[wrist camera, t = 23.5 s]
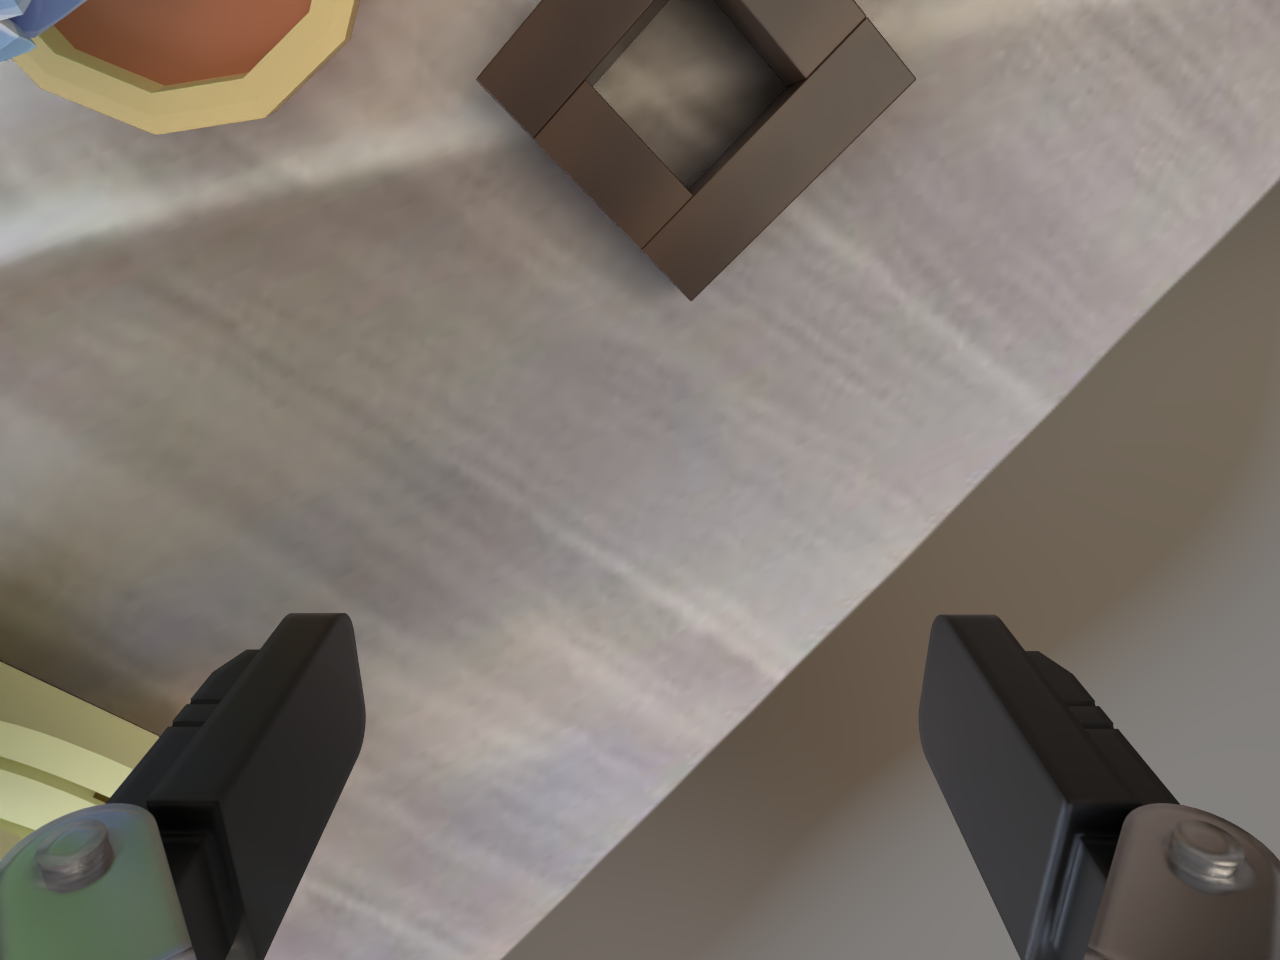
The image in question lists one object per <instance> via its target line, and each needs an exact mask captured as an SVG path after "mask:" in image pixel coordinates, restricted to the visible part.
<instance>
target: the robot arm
mask: <svg viewBox="0 0 1280 960" xmlns="http://www.w3.org/2000/svg"><path fill="white" fill-rule="evenodd" d="M365 718H366V714H365V703H364V696H363V689H362V683H361V676H360V669H359V662H358V656H357V649H356V642H355V636H354V629H353V625H352V622H351V619H350V617H349V616H348V615H347V614H345V613H291V614H288V615H287V616H286V617H285V618H284V619H283V620H282V621H281V623H280V624H279V625H278V627H277V628H276V629H275V631H274V632H273V633H272V635H271V636H270V637H269V638H268V640H267V641H266V642H265V644H264V645H263V646H262V648H261V649H260V650H245V651H244V652H242V653H241V654H239V655H238V656H236V657H235V658H233V659H232V660H230V661H229V662H227V663H226V664H224V665H223V666H221V667H220V668H218V669H217V670H215V671H214V672H212V674H211V675H210V676H209V677H208V679H207V680H206V681H205V682H204V683H203V685H202V686H201V687H200V688H199V690H198V691H197V692H196V693H195V694H194V696H193V697H192V698H191V703H190V704H186V706H185V707H184V708H183V709H182V710H181V712H180V713H179V714H178V715H177V717H176V718H175V719H174V720H173V725H172V727H168V728H167V729H166V730H165V731H164V732H163V734H162V735H161V736H160V737H159V739H158V740H157V741H156V742H155V743H154V745H153V746H152V747H151V748H150V750H149V751H148V752H147V753H146V754H145V756H144V757H143V758H142V759H141V761H140V762H139V763H138V764H137V765H136V767H135V768H134V769H133V770H132V772H131V773H130V774H129V775H128V776H127V778H126V779H125V780H124V781H123V783H122V784H121V785H120V786H119V787H118V789H117V790H116V791H115V792H114V794H113V795H112V796H111V797H110V798H109V800H108V801H107V802H106V803H105V804H102V805H96V806H92V807H87V808H83V809H80V810H77V811H74V812H71V813H69V814H66V815H64V816H62V817H59V818H57V819H55V820H53V821H51V822H49V823H47V824H45V825H43V826H41V827H40V828H38V829H37V830H35V831H34V832H32V833H30V834H29V835H28V836H26V837H25V838H24V839H22V840H21V841H20V842H18V843H17V844H16V845H15V846H14V847H13V848H12V849H11V850H10V851H9V852H8V853H7V854H6V855H5V856H4V857H3V858H2V860H1V861H0V960H264V958H265V956H266V954H267V952H268V949H269V947H270V945H271V943H272V941H273V939H274V936H275V934H276V932H277V930H278V928H279V926H280V924H281V921H282V919H283V917H284V915H285V913H286V911H287V908H288V906H289V904H290V902H291V900H292V898H293V896H294V893H295V891H296V889H297V887H298V885H299V883H300V880H301V878H302V876H303V874H304V872H305V870H306V868H307V865H308V863H309V861H310V859H311V857H312V855H313V852H314V850H315V848H316V846H317V844H318V842H319V840H320V837H321V835H322V833H323V831H324V829H325V827H326V824H327V822H328V820H329V818H330V816H331V814H332V812H333V809H334V807H335V805H336V803H337V801H338V799H339V796H340V794H341V792H342V790H343V788H344V786H345V784H346V781H347V779H348V777H349V775H350V773H351V771H352V768H353V766H354V764H355V762H356V760H357V758H358V755H359V753H360V750H361V747H362V743H363V738H364V732H365ZM919 732H920V739H921V744H922V748H923V751H924V754H925V756H926V759H927V761H928V763H929V765H930V767H931V769H932V772H933V774H934V776H935V778H936V780H937V782H938V784H939V787H940V789H941V791H942V793H943V795H944V797H945V799H946V801H947V804H948V806H949V808H950V810H951V812H952V814H953V816H954V818H955V821H956V823H957V825H958V827H959V829H960V831H961V833H962V835H963V837H964V840H965V842H966V844H967V846H968V848H969V850H970V852H971V855H972V857H973V859H974V861H975V863H976V865H977V867H978V869H979V871H980V874H981V876H982V878H983V880H984V882H985V884H986V886H987V889H988V891H989V893H990V895H991V897H992V899H993V901H994V903H995V906H996V908H997V910H998V912H999V914H1000V916H1001V918H1002V920H1003V923H1004V925H1005V927H1006V929H1007V931H1008V933H1009V935H1010V937H1011V940H1012V942H1013V944H1014V946H1015V948H1016V950H1017V952H1018V955H1019V957H1020V959H1021V960H1280V861H1279V860H1278V858H1277V857H1276V856H1275V855H1274V854H1273V853H1272V852H1271V851H1270V850H1269V849H1268V848H1267V847H1266V846H1265V845H1264V844H1263V843H1262V842H1260V841H1259V840H1258V839H1256V838H1255V837H1254V836H1252V835H1251V834H1250V833H1248V832H1246V831H1245V830H1243V829H1242V828H1240V827H1238V826H1237V825H1235V824H1233V823H1231V822H1229V821H1227V820H1225V819H1223V818H1221V817H1218V816H1216V815H1214V814H1211V813H1209V812H1206V811H1203V810H1200V809H1197V808H1192V807H1188V806H1184V805H1180V804H1179V802H1178V801H1177V800H1176V799H1175V797H1174V796H1173V795H1172V794H1171V793H1170V791H1169V790H1168V789H1167V788H1166V787H1165V785H1164V784H1163V783H1162V782H1161V781H1160V779H1159V778H1158V777H1157V776H1156V774H1155V773H1154V772H1153V771H1152V770H1151V768H1150V767H1149V766H1148V765H1147V764H1146V762H1145V761H1144V760H1143V759H1142V757H1141V756H1140V755H1139V754H1138V753H1137V751H1136V750H1135V749H1134V748H1133V747H1132V745H1131V744H1130V743H1129V742H1128V741H1127V739H1126V738H1125V737H1124V736H1123V734H1122V733H1121V732H1120V731H1119V730H1118V729H1114V728H1113V722H1112V721H1111V720H1110V719H1109V717H1108V716H1107V715H1106V714H1105V713H1104V711H1103V710H1102V709H1101V708H1100V707H1099V706H1095V701H1094V699H1093V698H1092V697H1091V696H1090V695H1089V693H1088V692H1087V691H1086V690H1085V688H1084V687H1083V686H1082V685H1081V684H1080V682H1079V681H1078V680H1077V679H1076V677H1075V676H1074V675H1073V674H1072V673H1070V672H1069V671H1067V670H1066V669H1064V668H1063V667H1061V666H1060V665H1058V664H1057V663H1055V662H1054V661H1052V660H1051V659H1049V658H1048V657H1046V656H1045V655H1043V654H1042V653H1040V652H1039V651H1025V650H1024V649H1023V648H1022V646H1021V645H1020V644H1019V643H1018V641H1017V640H1016V639H1015V637H1014V636H1013V635H1012V633H1011V632H1010V631H1009V630H1008V628H1007V627H1006V626H1005V624H1004V623H1003V622H1002V620H1001V619H1000V618H999V617H997V616H996V615H938V616H937V617H936V618H935V620H934V622H933V624H932V628H931V633H930V639H929V646H928V653H927V659H926V666H925V672H924V679H923V686H922V692H921V699H920V706H919Z"/></svg>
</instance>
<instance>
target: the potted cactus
mask: <svg viewBox="0 0 1280 960" xmlns="http://www.w3.org/2000/svg"><path fill="white" fill-rule="evenodd" d="M359 2H360V0H0V62H2V61H5V60H8V59H10V58H12V59H13V60H14V61H15V62H16V63H17V65H18V66H19V67H20V68H21V69H22V70H23V71H24V72H25V73H26V74H27V75H28V76H29V77H30V78H31V79H32V80H33V81H34V82H35V84H36V85H37V86H38V87H39V88H41V89H43V90H46V91H48V92H51V93H53V94H55V95H58V96H60V97H63V98H65V99H68V100H70V101H73V102H75V103H78V104H80V105H83V106H85V107H88V108H90V109H93V110H95V111H98V112H100V113H102V114H105V115H107V116H110V117H112V118H115V119H117V120H120V121H122V122H125V123H127V124H130V125H132V126H135V127H137V128H140V129H142V130H145V131H147V132H150V133H152V134H154V135H159V134H165V133H172V132H178V131H185V130H191V129H197V128H204V127H210V126H217V125H223V124H230V123H236V122H242V121H249V120H255V119H262V118H265V117H267V116H269V115H270V114H272V113H274V112H275V111H277V110H278V109H279V108H280V107H281V106H282V105H283V104H284V103H285V102H286V101H287V100H288V99H289V98H290V97H291V96H292V95H293V94H294V93H295V92H296V91H297V90H298V89H299V88H300V87H301V86H302V85H303V84H304V83H305V82H306V81H307V80H308V79H310V78H311V77H312V76H313V75H314V74H315V73H316V72H317V71H318V70H319V69H320V68H321V67H322V66H323V65H324V64H325V63H326V62H327V61H328V60H329V59H330V58H331V57H332V56H333V55H334V54H335V53H336V52H337V51H338V50H339V49H340V48H341V47H342V46H343V45H344V44H345V43H346V42H347V41H348V40H349V39H350V38H351V34H352V30H353V26H354V22H355V18H356V14H357V10H358V6H359Z"/></svg>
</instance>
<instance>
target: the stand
mask: <svg viewBox="0 0 1280 960" xmlns="http://www.w3.org/2000/svg"><path fill="white" fill-rule="evenodd" d="M668 1H669V0H542V1H541V2H540V3H539V4H538V5H537V7H536V8H535V9H534V10H533V11H532V13H531V14H530V15H529V16H528V17H527V19H526V20H525V21H524V22H523V23H522V25H521V26H520V27H519V28H518V29H517V31H516V32H515V33H514V34H513V35H512V37H511V38H510V39H509V40H508V41H507V43H506V44H505V45H504V46H503V47H502V48H501V50H500V51H499V52H498V53H497V54H496V56H495V57H494V58H493V59H492V60H491V62H490V63H489V64H488V65H487V66H486V68H485V69H484V70H483V71H482V72H481V74H480V75H479V76H478V77H477V79H476V80H477V82H478V83H479V84H480V85H481V86H482V87H483V88H484V89H485V90H486V91H487V92H488V93H489V94H490V95H491V96H492V97H493V98H494V99H495V100H496V101H497V102H498V103H499V104H500V105H501V106H502V107H503V108H504V109H505V110H506V111H507V112H508V113H509V115H510V116H511V117H512V118H513V119H514V120H515V121H516V122H517V123H518V124H519V125H520V126H521V127H522V128H523V129H524V130H525V131H526V132H527V133H528V134H529V135H530V136H531V137H532V138H534V140H535V141H536V142H537V143H538V144H539V146H540V147H541V148H542V149H543V150H544V151H545V152H546V153H547V154H548V155H549V156H550V157H551V158H552V159H553V160H554V161H555V162H556V163H557V164H558V165H559V166H560V167H561V168H562V169H563V170H564V171H565V172H566V173H567V174H568V175H569V176H570V177H571V179H572V180H573V181H574V182H575V183H576V184H577V185H578V186H579V187H580V188H581V189H582V190H583V191H584V192H585V193H586V194H587V195H588V196H589V197H590V198H591V199H592V200H593V201H594V202H595V203H596V204H597V205H598V206H599V207H600V208H601V209H602V210H603V211H604V213H605V214H606V215H607V216H608V217H609V218H610V219H611V220H612V221H613V222H614V223H615V224H616V225H617V226H618V227H619V228H620V229H621V230H622V231H623V232H624V233H625V234H626V235H627V236H628V237H629V238H630V239H631V240H632V241H633V242H634V243H635V244H636V246H637V247H638V248H639V249H641V250H642V252H643V253H644V254H645V255H646V256H647V257H648V258H649V259H650V260H651V261H652V262H653V263H654V264H655V265H656V266H657V267H658V268H659V269H660V270H661V271H662V272H663V273H664V274H665V275H666V276H667V277H668V278H669V280H670V281H671V282H672V283H673V284H674V285H675V286H676V287H677V288H678V289H679V290H680V291H681V292H682V293H683V294H684V295H685V296H686V297H687V298H688V299H689V300H690V301H692V300H693V299H694V298H695V297H696V296H697V295H698V294H699V293H700V292H701V291H702V290H703V289H704V288H705V287H706V286H707V285H708V284H709V283H711V282H712V281H713V280H714V279H715V278H716V277H717V276H718V275H719V274H720V273H721V272H722V271H723V270H724V269H725V268H726V267H727V266H728V265H729V264H730V263H731V262H732V261H733V260H734V259H735V258H736V257H737V256H738V255H739V254H740V253H741V252H742V251H743V250H744V249H745V248H746V247H747V246H748V245H749V244H750V243H751V242H752V241H753V240H754V239H755V238H756V237H757V236H758V235H759V234H760V233H761V232H762V231H763V230H764V229H765V228H766V227H767V226H768V225H769V224H770V223H771V222H772V221H773V220H774V219H775V218H776V217H777V216H778V215H779V214H780V213H781V212H782V211H783V210H784V209H785V208H786V207H787V206H788V205H790V204H791V203H792V202H793V201H794V200H795V199H796V198H797V197H798V196H799V195H800V194H801V193H802V192H803V191H804V190H805V189H806V188H807V187H808V186H809V185H810V184H811V183H812V182H813V181H814V180H815V179H816V178H817V177H818V176H819V175H820V174H821V173H822V172H823V171H824V170H825V169H826V168H827V167H828V166H829V165H830V164H831V163H832V162H833V161H834V160H835V159H836V158H837V157H838V156H839V155H840V154H841V153H842V152H843V151H844V150H845V149H846V148H847V147H848V146H849V145H850V144H851V143H852V142H853V141H854V140H855V139H856V138H857V137H858V136H859V135H860V134H861V133H862V132H863V131H864V130H865V129H866V128H867V127H869V126H870V125H871V124H872V123H873V122H874V121H875V120H876V119H877V118H878V117H879V116H880V115H881V114H882V113H883V112H884V111H885V110H886V109H887V108H888V107H889V106H890V105H891V104H892V103H893V102H894V101H895V100H896V99H897V98H898V97H899V96H900V95H901V94H902V93H903V92H904V91H905V90H906V89H907V88H908V87H909V86H910V85H911V84H912V83H913V82H914V81H915V80H916V78H915V77H914V75H913V74H912V73H911V72H910V70H909V69H908V68H907V66H906V65H905V64H904V63H903V61H902V60H901V59H900V58H899V56H898V55H897V54H896V53H895V51H894V50H893V49H892V48H891V46H890V45H889V44H888V42H887V41H886V40H885V39H884V37H883V36H882V35H881V34H880V32H879V31H878V30H877V29H876V27H875V26H874V25H873V24H872V22H871V21H870V20H869V19H868V18H867V17H866V15H865V14H864V12H863V11H862V10H861V8H860V7H859V6H858V5H857V3H856V2H855V1H854V0H714V1H715V2H716V3H717V5H718V6H719V7H720V8H721V9H722V11H723V12H724V13H725V14H726V15H727V16H728V18H729V19H730V20H731V21H732V22H733V23H734V25H735V26H736V27H737V28H738V29H739V31H740V32H741V33H742V34H743V35H744V36H745V38H746V39H747V40H748V41H749V42H750V44H751V45H752V46H753V47H754V48H755V49H756V51H757V52H758V53H759V54H760V55H761V57H762V58H763V59H764V60H765V61H766V62H767V64H768V65H769V66H770V67H771V68H772V70H773V71H774V72H775V73H776V74H777V75H778V77H779V78H780V79H781V80H782V81H783V83H784V84H785V85H786V86H787V88H786V89H785V90H784V91H783V92H782V93H781V94H780V95H779V97H778V98H777V99H776V100H775V101H774V102H773V103H772V104H771V105H770V106H769V107H768V108H767V109H766V110H765V111H764V112H763V113H762V114H761V115H760V116H759V117H758V118H757V119H756V120H755V121H754V122H753V124H752V125H751V126H750V127H749V128H748V129H747V130H746V131H745V132H744V133H743V134H742V135H741V136H740V137H739V138H738V139H737V140H736V141H735V142H734V143H733V144H732V145H731V146H730V147H729V148H728V149H727V150H726V152H725V153H724V154H723V155H722V156H721V157H720V158H719V159H718V160H717V161H716V162H715V163H714V164H713V165H712V166H711V167H710V168H709V169H708V170H707V171H706V172H705V173H704V174H703V175H702V176H701V177H700V179H699V180H698V181H697V182H696V183H695V184H694V185H693V186H692V187H691V188H690V189H689V190H688V189H687V188H686V187H685V186H684V185H683V184H682V183H681V182H680V181H679V180H678V179H677V178H676V176H675V175H674V174H673V173H672V172H671V171H670V170H669V169H668V168H667V167H666V166H665V165H664V163H663V162H662V161H661V160H660V159H659V158H658V157H657V156H656V155H655V154H654V153H653V152H652V151H651V149H650V148H649V147H648V146H647V145H646V144H645V143H644V142H643V141H642V140H641V139H640V138H639V136H638V135H637V134H636V133H635V132H634V131H633V130H632V129H631V128H630V127H629V126H628V125H627V124H626V122H625V121H624V120H623V119H622V118H621V117H620V116H619V115H618V114H617V113H616V112H615V111H614V109H613V108H612V107H611V106H610V105H609V104H608V103H607V102H606V101H605V100H604V99H603V98H602V97H601V95H600V94H599V93H598V92H597V91H596V90H595V89H594V88H593V86H594V84H595V83H596V82H597V81H598V80H599V79H600V78H601V77H602V75H603V74H604V73H605V72H606V71H607V70H608V69H609V67H610V66H611V65H612V64H613V63H614V62H615V61H616V60H617V58H618V57H619V56H620V55H621V54H622V53H623V52H624V51H625V49H626V48H627V47H628V46H629V45H630V44H631V43H632V41H633V40H634V39H635V38H636V37H637V36H638V35H639V34H640V32H641V31H642V30H643V29H644V28H645V27H646V26H647V25H648V23H649V22H650V21H651V20H652V19H653V18H654V17H655V15H656V14H657V13H658V12H659V11H660V10H661V9H662V8H663V6H664V5H665V4H666V3H667V2H668Z"/></svg>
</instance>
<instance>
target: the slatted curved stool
mask: <svg viewBox="0 0 1280 960" xmlns="http://www.w3.org/2000/svg"><path fill="white" fill-rule="evenodd" d="M158 739H159V736H157V735H155V734H153V733H151V732H148V731H146V730H144V729H142V728H140V727H138V726H136V725H134V724H132V723H129V722H127V721H125V720H123V719H121V718H119V717H117V716H115V715H112V714H110V713H108V712H106V711H104V710H102V709H100V708H98V707H96V706H93V705H91V704H89V703H87V702H85V701H83V700H81V699H79V698H76V697H74V696H72V695H70V694H68V693H66V692H64V691H62V690H60V689H57V688H55V687H53V686H51V685H49V684H47V683H45V682H43V681H40V680H38V679H36V678H34V677H32V676H30V675H28V674H26V673H24V672H21V671H19V670H17V669H15V668H13V667H11V666H9V665H7V664H4V663H2V662H0V861H1V860H2V858H3V857H4V856H5V855H6V854H7V853H8V852H9V851H10V850H11V849H12V848H13V847H14V846H15V845H16V844H17V843H18V842H20V841H21V840H22V839H24V838H25V837H26V836H28V835H29V834H30V833H32V832H34V831H35V830H37V829H38V828H40V827H41V826H43V825H45V824H47V823H49V822H51V821H53V820H55V819H57V818H59V817H62V816H64V815H66V814H69V813H71V812H74V811H77V810H80V809H83V808H87V807H92V806H96V805H102V804H105V803H106V802H107V801H108V800H109V798H110V797H111V796H112V795H113V794H114V792H115V791H116V790H117V789H118V787H119V786H120V785H121V784H122V783H123V781H124V780H125V779H126V778H127V776H128V775H129V774H130V773H131V772H132V770H133V769H134V768H135V767H136V765H137V764H138V763H139V762H140V761H141V759H142V758H143V757H144V756H145V754H146V753H147V752H148V751H149V750H150V748H151V747H152V746H153V745H154V743H155V742H156V741H157V740H158Z"/></svg>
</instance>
